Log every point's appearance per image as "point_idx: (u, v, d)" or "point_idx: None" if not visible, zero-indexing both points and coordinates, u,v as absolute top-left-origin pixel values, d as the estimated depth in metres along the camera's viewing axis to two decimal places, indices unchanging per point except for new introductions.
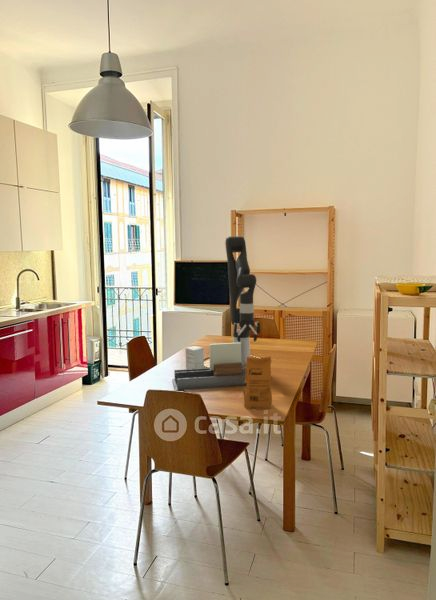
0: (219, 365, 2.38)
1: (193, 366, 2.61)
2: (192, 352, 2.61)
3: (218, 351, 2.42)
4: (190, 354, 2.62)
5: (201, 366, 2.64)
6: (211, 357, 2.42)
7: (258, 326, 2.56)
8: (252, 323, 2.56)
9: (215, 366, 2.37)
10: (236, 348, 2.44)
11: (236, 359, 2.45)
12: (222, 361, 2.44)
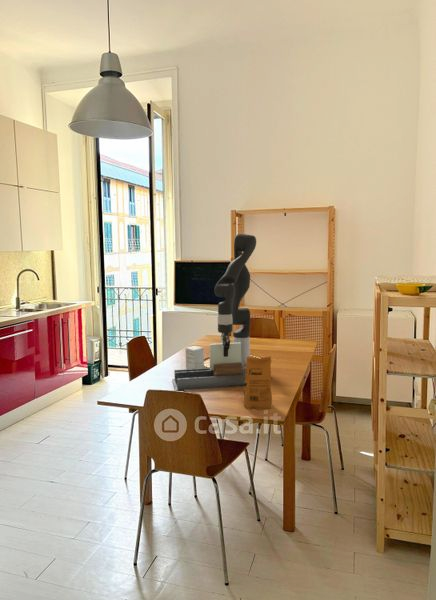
0: (219, 365, 2.38)
1: (193, 366, 2.61)
2: (192, 352, 2.61)
3: (218, 351, 2.42)
4: (190, 354, 2.62)
5: (201, 366, 2.64)
6: (211, 357, 2.42)
7: None
8: None
9: (215, 366, 2.37)
10: (236, 348, 2.44)
11: (236, 359, 2.45)
12: (222, 361, 2.44)
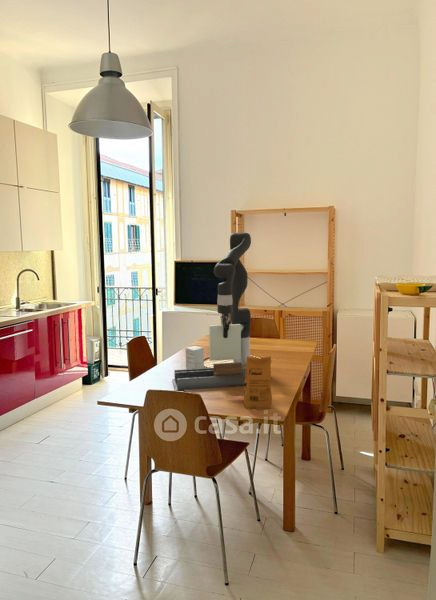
0: (219, 365, 2.38)
1: (193, 366, 2.61)
2: (192, 352, 2.61)
3: (218, 332, 2.41)
4: (190, 354, 2.62)
5: (201, 366, 2.64)
6: (211, 339, 2.41)
7: None
8: None
9: (215, 366, 2.37)
10: (236, 329, 2.43)
11: (236, 341, 2.43)
12: (222, 343, 2.42)
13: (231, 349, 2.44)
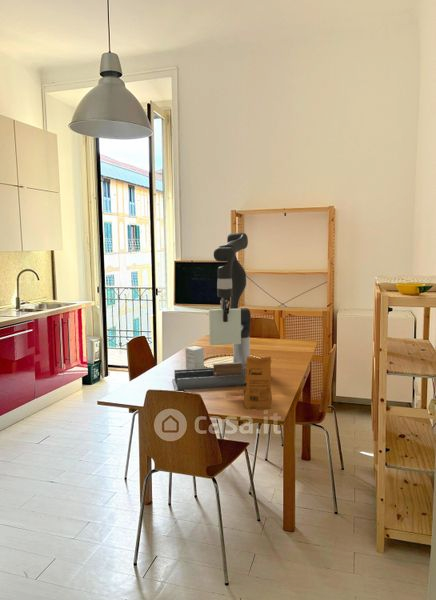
0: (219, 365, 2.38)
1: (193, 366, 2.61)
2: (192, 352, 2.61)
3: (218, 317, 2.40)
4: (190, 354, 2.62)
5: (201, 366, 2.64)
6: (210, 323, 2.40)
7: None
8: None
9: (215, 366, 2.37)
10: (236, 313, 2.42)
11: (236, 325, 2.42)
12: (222, 327, 2.41)
13: (231, 333, 2.43)
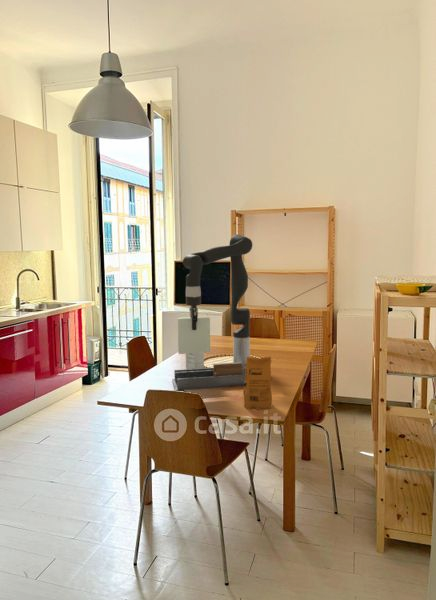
0: (219, 365, 2.38)
1: (193, 366, 2.61)
2: None
3: (186, 325, 2.38)
4: (190, 354, 2.62)
5: (201, 366, 2.64)
6: (179, 332, 2.38)
7: None
8: None
9: (215, 366, 2.37)
10: (205, 322, 2.39)
11: (205, 334, 2.40)
12: (190, 335, 2.39)
13: (200, 342, 2.40)
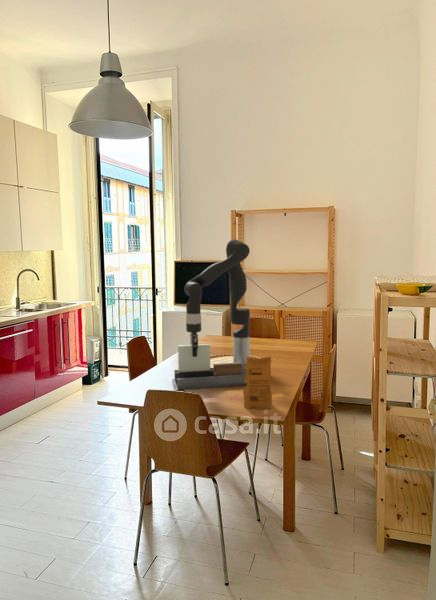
0: (219, 365, 2.38)
1: None
2: None
3: (187, 353, 2.40)
4: None
5: None
6: (180, 359, 2.40)
7: None
8: None
9: (215, 366, 2.37)
10: (205, 349, 2.41)
11: (205, 361, 2.42)
12: (191, 363, 2.41)
13: (201, 369, 2.42)
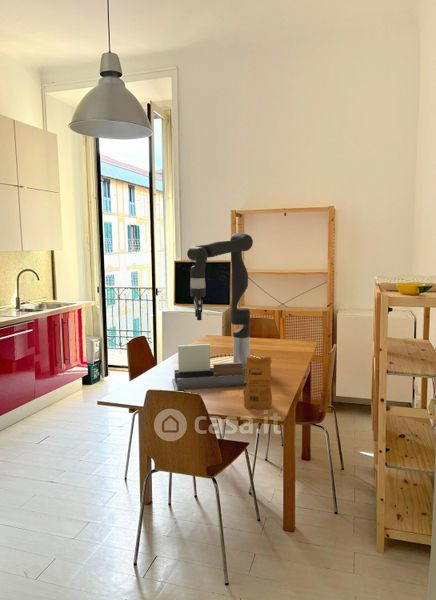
0: (219, 365, 2.38)
1: None
2: None
3: (187, 353, 2.40)
4: None
5: None
6: (180, 359, 2.40)
7: None
8: None
9: (215, 366, 2.37)
10: (205, 349, 2.41)
11: (205, 361, 2.42)
12: (191, 363, 2.41)
13: (201, 369, 2.42)
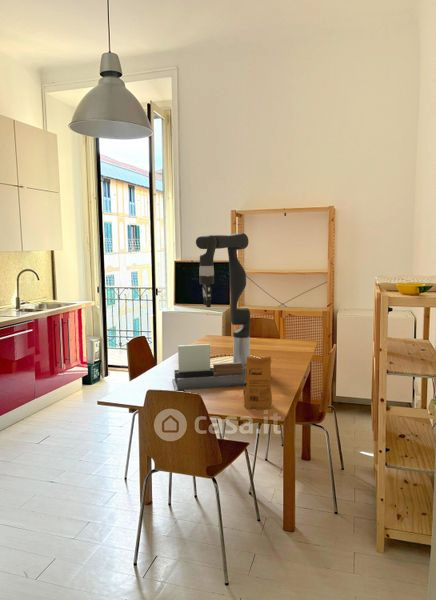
0: (219, 365, 2.38)
1: None
2: None
3: (187, 353, 2.40)
4: None
5: None
6: (180, 359, 2.40)
7: None
8: None
9: (215, 366, 2.37)
10: (205, 349, 2.41)
11: (205, 361, 2.42)
12: (191, 363, 2.41)
13: (201, 369, 2.42)
